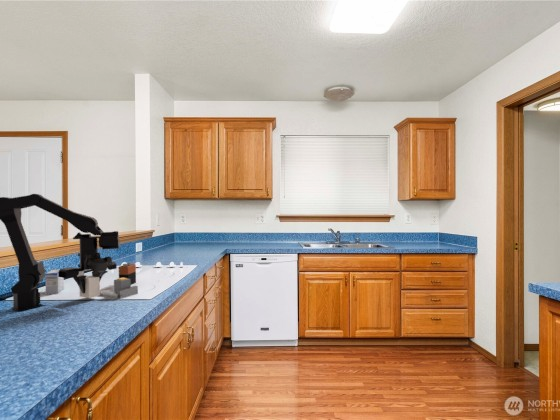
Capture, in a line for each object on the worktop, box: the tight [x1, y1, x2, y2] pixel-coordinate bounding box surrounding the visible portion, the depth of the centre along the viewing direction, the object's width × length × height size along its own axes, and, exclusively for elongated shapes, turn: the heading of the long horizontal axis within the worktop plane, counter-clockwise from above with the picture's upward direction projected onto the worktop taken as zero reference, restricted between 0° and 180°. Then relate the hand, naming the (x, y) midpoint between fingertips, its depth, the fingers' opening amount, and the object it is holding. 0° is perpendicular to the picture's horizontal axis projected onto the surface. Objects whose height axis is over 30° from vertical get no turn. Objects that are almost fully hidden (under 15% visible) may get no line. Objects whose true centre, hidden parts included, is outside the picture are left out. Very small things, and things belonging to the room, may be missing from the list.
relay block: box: [113, 277, 132, 293], centre depth 122 cm, size 4×4×6 cm
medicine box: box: [44, 269, 65, 295], centre depth 131 cm, size 8×4×9 cm, turn 21°
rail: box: [100, 284, 139, 300], centre depth 124 cm, size 8×17×4 cm, turn 62°
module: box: [79, 275, 101, 299], centre depth 117 cm, size 4×6×7 cm
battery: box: [118, 262, 137, 286], centre depth 139 cm, size 4×7×10 cm, turn 175°
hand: (89, 291), depth 117 cm, fingers closed on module, 4 cm apart
